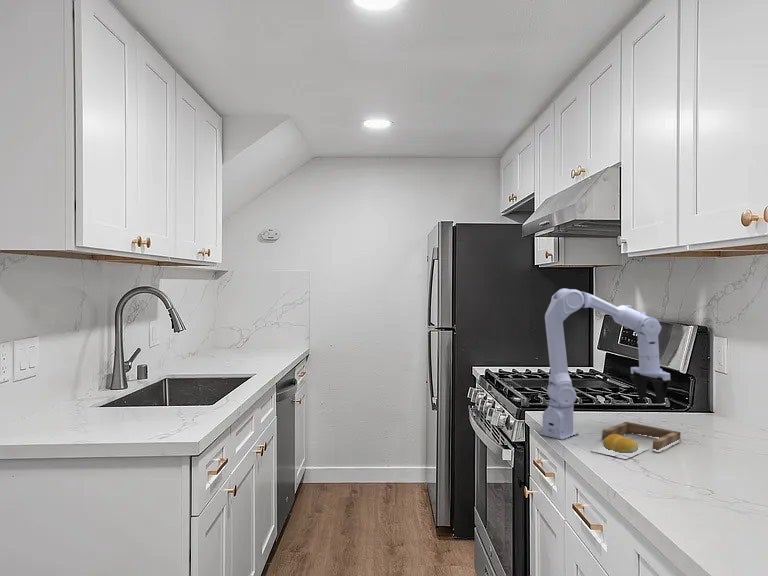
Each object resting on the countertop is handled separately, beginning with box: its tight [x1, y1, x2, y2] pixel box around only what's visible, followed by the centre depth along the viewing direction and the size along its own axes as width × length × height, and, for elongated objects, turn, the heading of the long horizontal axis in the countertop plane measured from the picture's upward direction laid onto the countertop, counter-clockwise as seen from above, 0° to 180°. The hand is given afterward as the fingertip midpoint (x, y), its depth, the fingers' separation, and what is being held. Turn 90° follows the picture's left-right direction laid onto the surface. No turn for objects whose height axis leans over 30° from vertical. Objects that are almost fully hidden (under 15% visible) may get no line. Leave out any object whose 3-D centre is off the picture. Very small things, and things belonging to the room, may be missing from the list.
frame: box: [601, 421, 681, 450], centre depth 178 cm, size 15×16×3 cm
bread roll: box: [602, 434, 639, 453], centre depth 168 cm, size 8×9×4 cm
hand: (651, 400), depth 185 cm, fingers open, 7 cm apart
